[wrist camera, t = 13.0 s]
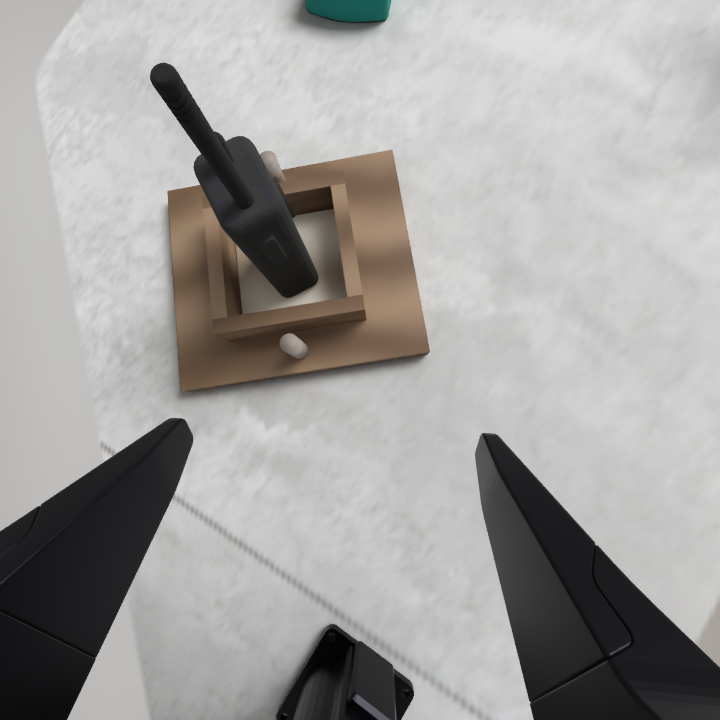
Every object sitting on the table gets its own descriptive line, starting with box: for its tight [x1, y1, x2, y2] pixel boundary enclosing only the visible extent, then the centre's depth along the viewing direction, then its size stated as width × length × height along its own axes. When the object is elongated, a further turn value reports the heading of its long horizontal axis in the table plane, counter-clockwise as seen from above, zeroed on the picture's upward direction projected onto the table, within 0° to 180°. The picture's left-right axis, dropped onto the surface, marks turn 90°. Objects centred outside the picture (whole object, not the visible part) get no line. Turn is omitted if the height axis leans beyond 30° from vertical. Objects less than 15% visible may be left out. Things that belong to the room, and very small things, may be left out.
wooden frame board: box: [168, 150, 430, 392], centre depth 23 cm, size 16×18×4 cm
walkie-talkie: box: [150, 63, 318, 298], centre depth 17 cm, size 5×3×15 cm
